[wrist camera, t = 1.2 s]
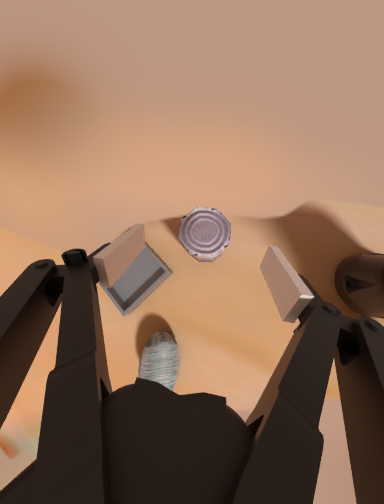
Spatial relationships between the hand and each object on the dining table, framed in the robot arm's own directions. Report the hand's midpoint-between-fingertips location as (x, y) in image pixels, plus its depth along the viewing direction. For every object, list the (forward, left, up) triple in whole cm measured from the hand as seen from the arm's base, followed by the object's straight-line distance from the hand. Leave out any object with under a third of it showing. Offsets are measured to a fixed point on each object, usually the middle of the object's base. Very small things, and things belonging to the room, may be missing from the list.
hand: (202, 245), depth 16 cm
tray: (+14, +16, -27) cm, 35 cm away
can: (+5, -5, -27) cm, 28 cm away
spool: (-9, +24, -27) cm, 38 cm away
